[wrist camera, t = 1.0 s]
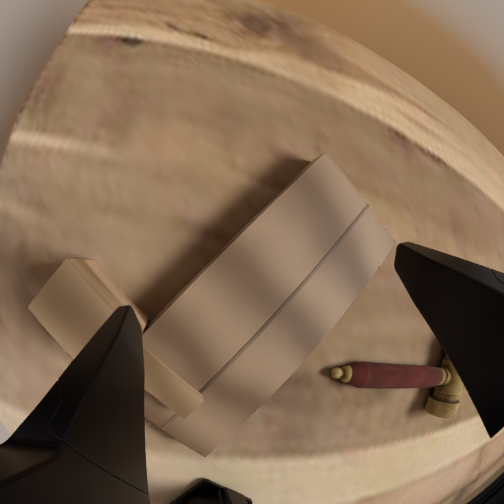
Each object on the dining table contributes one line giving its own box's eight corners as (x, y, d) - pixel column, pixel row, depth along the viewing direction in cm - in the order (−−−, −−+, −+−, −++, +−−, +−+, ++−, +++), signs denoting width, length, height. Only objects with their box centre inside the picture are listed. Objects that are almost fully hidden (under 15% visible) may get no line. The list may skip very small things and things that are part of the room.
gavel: (326, 432, 21) (360, 322, 22) (306, 410, 25) (334, 315, 26) (460, 416, 25) (484, 341, 26) (437, 405, 29) (459, 336, 30)
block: (173, 402, 20) (176, 442, 15) (61, 296, 18) (27, 307, 13) (206, 369, 21) (219, 403, 16) (93, 259, 19) (66, 258, 14)
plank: (201, 441, 21) (205, 457, 18) (106, 368, 19) (99, 380, 17) (378, 244, 26) (395, 242, 24) (311, 161, 24) (325, 152, 22)
